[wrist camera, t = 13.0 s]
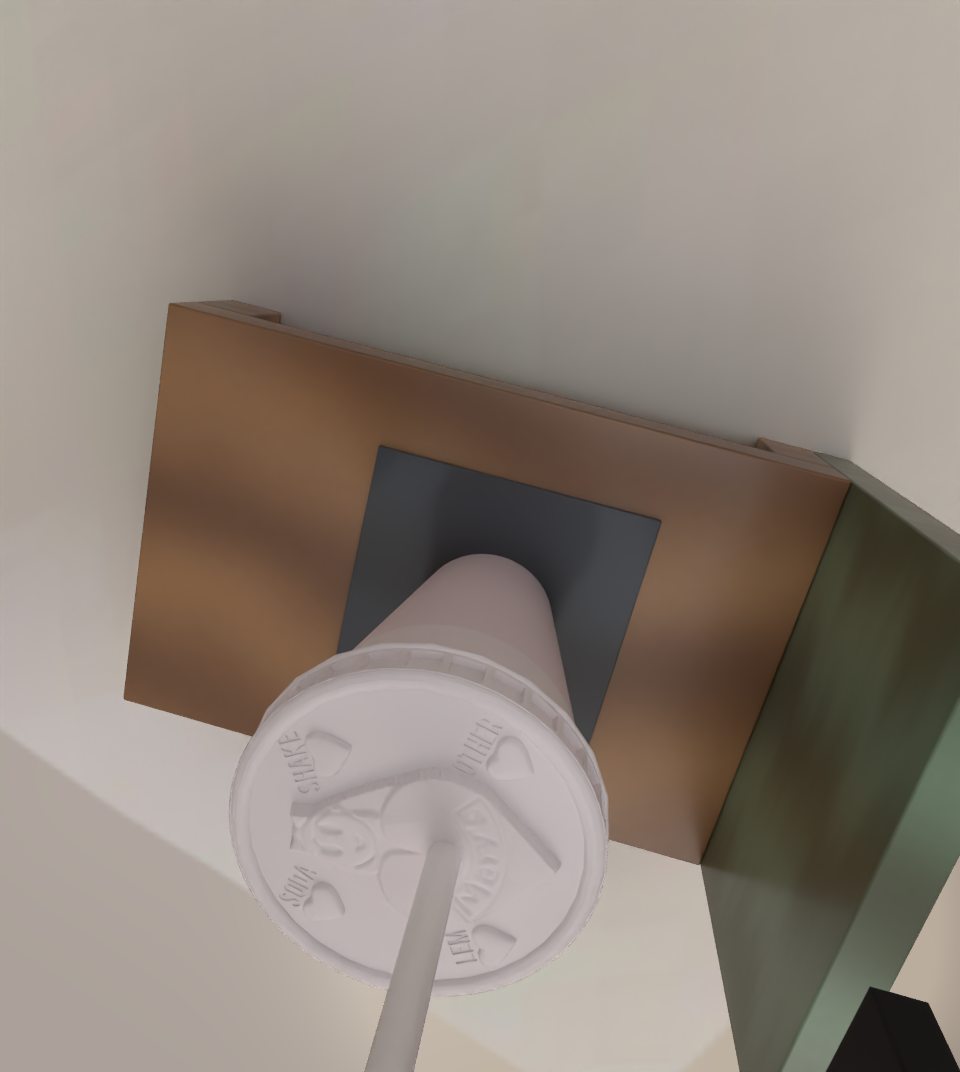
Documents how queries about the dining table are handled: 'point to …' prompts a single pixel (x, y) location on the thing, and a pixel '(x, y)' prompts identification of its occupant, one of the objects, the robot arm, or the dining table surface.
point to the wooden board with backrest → (591, 625)
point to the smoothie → (428, 801)
